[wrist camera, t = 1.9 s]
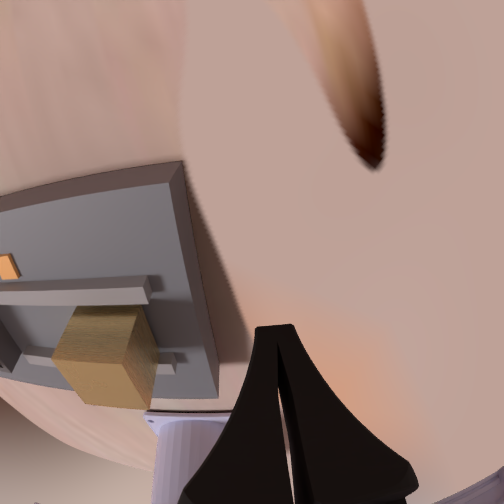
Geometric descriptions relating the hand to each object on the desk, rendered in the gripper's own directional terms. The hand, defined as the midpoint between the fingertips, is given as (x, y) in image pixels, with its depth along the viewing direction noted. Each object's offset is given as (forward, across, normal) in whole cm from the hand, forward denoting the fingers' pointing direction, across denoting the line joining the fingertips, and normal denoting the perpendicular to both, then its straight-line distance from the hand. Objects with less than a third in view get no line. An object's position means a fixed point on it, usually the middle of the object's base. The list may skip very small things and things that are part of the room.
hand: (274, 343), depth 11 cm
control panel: (+4, +14, 0) cm, 15 cm away
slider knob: (+1, +7, 0) cm, 7 cm away
